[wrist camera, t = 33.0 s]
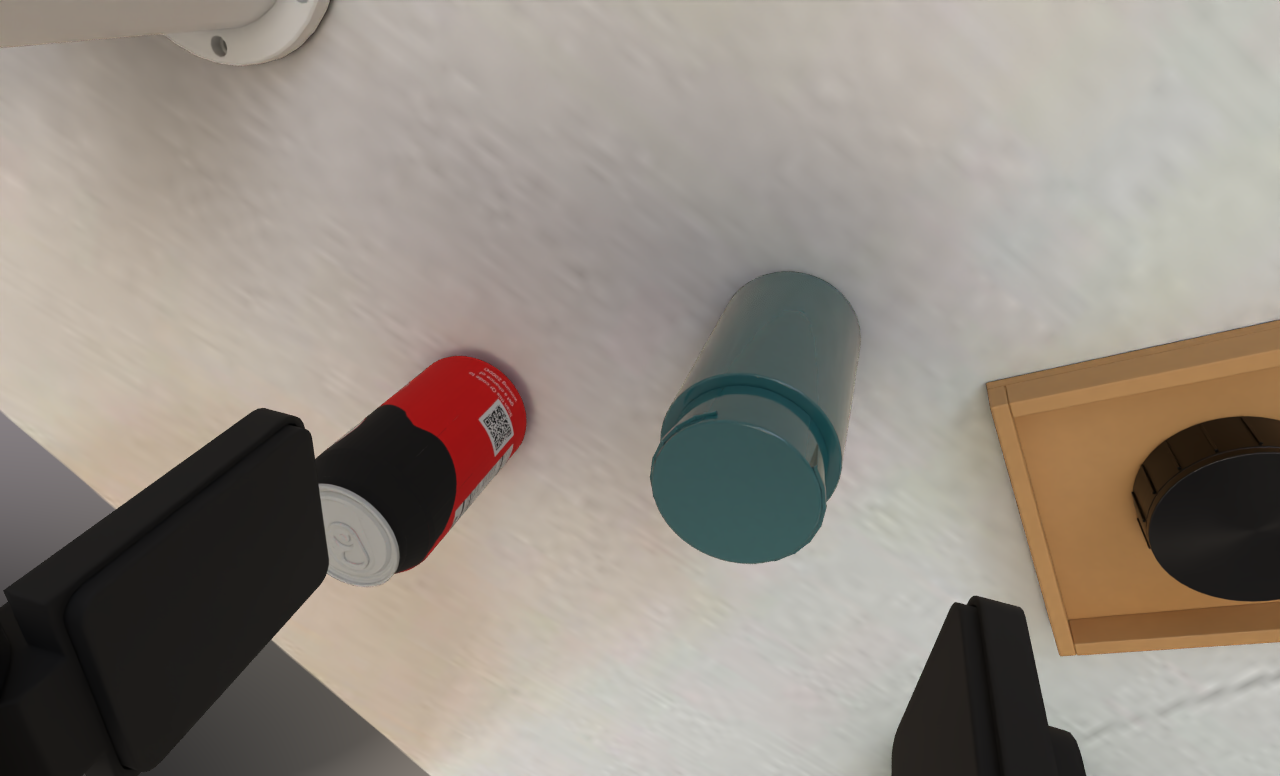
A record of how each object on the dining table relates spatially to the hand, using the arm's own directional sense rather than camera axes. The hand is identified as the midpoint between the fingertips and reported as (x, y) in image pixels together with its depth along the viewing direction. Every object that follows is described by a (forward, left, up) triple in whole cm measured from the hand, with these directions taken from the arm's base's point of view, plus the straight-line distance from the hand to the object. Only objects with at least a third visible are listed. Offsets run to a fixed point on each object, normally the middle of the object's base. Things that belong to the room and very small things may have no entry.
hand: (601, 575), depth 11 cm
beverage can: (-20, -5, -24) cm, 32 cm away
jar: (-3, -6, -24) cm, 25 cm away
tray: (+12, -17, -24) cm, 32 cm away
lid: (+12, -17, -21) cm, 30 cm away
